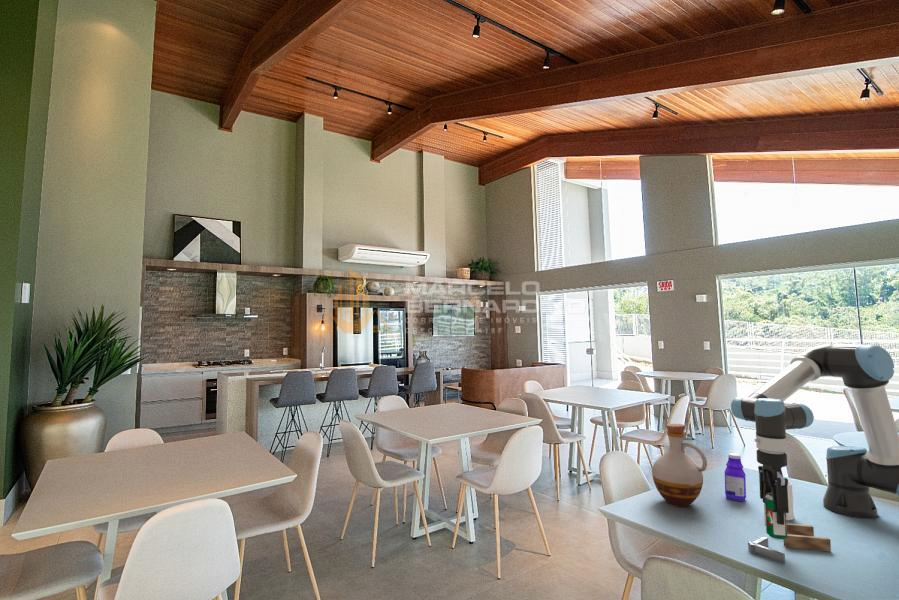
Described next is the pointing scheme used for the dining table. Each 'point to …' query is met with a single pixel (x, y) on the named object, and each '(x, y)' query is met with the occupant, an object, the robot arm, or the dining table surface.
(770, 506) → the soda can
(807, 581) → the dining table surface
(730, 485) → the bottle
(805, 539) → the guide channel
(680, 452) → the jug
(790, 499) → the mug
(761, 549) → the v block
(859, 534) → the dining table surface
